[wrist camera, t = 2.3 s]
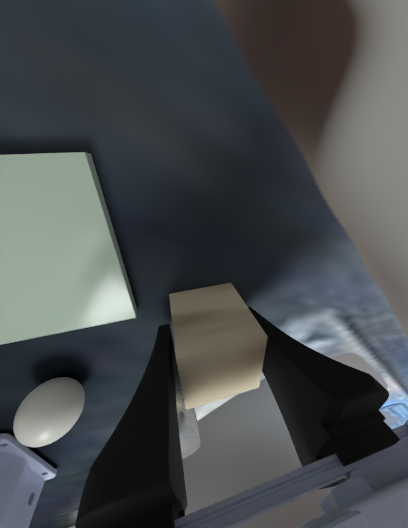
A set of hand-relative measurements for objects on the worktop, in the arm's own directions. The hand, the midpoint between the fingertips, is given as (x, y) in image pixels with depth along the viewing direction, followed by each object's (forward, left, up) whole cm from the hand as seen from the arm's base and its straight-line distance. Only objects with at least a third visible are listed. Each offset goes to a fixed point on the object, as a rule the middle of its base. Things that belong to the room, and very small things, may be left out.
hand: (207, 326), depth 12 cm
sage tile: (+6, +9, -1) cm, 11 cm away
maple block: (0, 0, -2) cm, 2 cm away
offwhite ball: (-4, +11, 0) cm, 12 cm away
